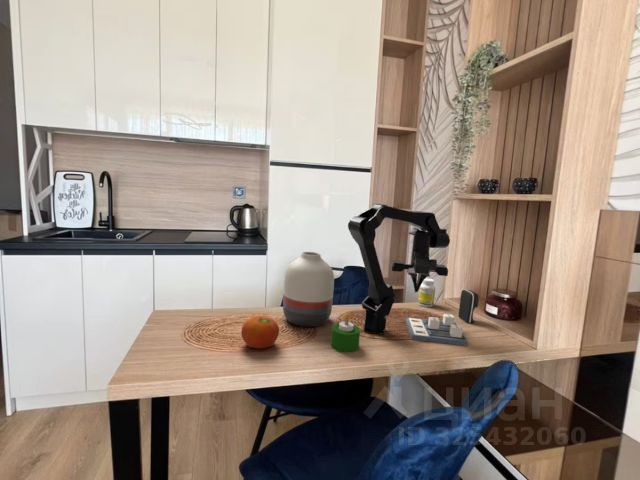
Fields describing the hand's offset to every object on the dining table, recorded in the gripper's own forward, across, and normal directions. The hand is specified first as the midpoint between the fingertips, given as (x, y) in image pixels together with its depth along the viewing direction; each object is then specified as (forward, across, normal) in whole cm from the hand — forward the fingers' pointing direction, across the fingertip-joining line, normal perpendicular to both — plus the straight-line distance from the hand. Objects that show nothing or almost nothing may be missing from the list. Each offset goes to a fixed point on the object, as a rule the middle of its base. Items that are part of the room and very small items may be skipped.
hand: (415, 291), depth 124 cm
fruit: (+12, -47, -30) cm, 57 cm away
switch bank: (+12, +6, -6) cm, 15 cm away
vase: (+12, -37, -7) cm, 40 cm away
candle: (+12, -23, -24) cm, 35 cm away
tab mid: (+10, +6, -6) cm, 13 cm away
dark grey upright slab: (+12, +22, +11) cm, 27 cm away
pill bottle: (+12, +9, +25) cm, 29 cm away
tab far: (+10, +12, 0) cm, 16 cm away
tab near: (+10, +12, -10) cm, 19 cm away
